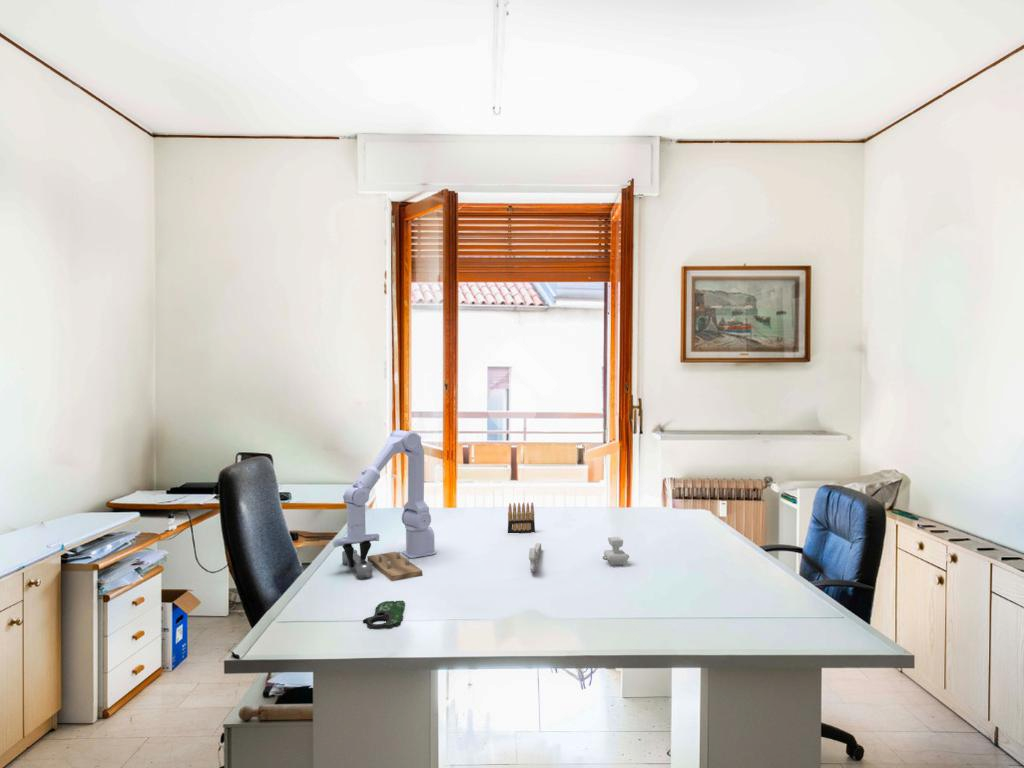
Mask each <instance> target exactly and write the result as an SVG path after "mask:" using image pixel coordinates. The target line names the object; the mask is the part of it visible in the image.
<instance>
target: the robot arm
mask: <svg viewBox="0 0 1024 768" xmlns="http://www.w3.org/2000/svg"><path fill="white" fill-rule="evenodd" d="M401 453H403V454H404V455H406V456H407V459H408V460H407V462H408V463H407V464H408V465H407V476H408V477H407V502H406V503H405V504H404V505H403V511H402V514H401V522H402V524H403V525H404V527H405V546H406V548H405V550H402V551H401V553H402V554H403V555H404V556H406V557H407V558H409V559H414V558H415V559H416V558H419V557H425V556H432V555H436V552H435V531H434V529H433V527H431V526H430V525H431V523H432V517H431V514H430V507H429V506H428V505H427V503H426V502H425V449H424V446H423V445H422V436H421V435H419V434H418V432H416V431H411V430H409V431H408V430H400V429H394V430H392V432H391V433H390V434H389V436H388V437H387V438H386V441H385V444H384V446H383V447H382V449H381V450H380V452H379V453H378V455H377V457H376V458H375V460H374V461H373V462H372V464H371V465H370V466H367V467H365V468H363V469H361V471H360V472H361V473H360V475H359V476H358V477H357V478H356V480H355V481H353V483H352V485H351V486H349V487H347V489H345V492H344V495H342V499H343V500H344V502H345V503H346V524H347V525H346V529H347V530H346V533H347V534H346V535H347V536H346V537H341V538H337V539H332V540H333V541H332V546H333V547H334V548H338V547H342V548H343V551H345V553H346V555H347V558H348V561H349V566H350V567H351V568H352V567H353V551H354V550H355V547H353V545H354V544H356V545H357V544H359V551H360V552H359V553H360V554H359V556H361V557H362V558H363V559H364V560H365V561H366V559H367V556H368V553H369V551H370V549H371V548H372V543H371V542H379V541H380V534H379V533H371V534H370V533H369V534H368V533H367V532H366V503H367V502H368V501H369V498H370V493H371V491H372V490H373V488H374V487H375V485H376V484H377V483H378V482H379V480H380V478H381V471H382V470H383V469H384V468H385V467H386V465H387V464H388V463H389V462H390V460H392V458H393V457H394V456H395V455H397V454H401Z"/></svg>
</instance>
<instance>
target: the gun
mask: <svg viewBox="0 0 1024 768" xmlns="http://www.w3.org/2000/svg"><path fill="white" fill-rule="evenodd" d="M405 607H406V602H405V601H404V600H388V601H387V600H386V601H382V602H380V603H379V604H377V606H375V609H374V610H375V611H374V614H373V616H369V617H365V618H364V619H363V620H362V624H365V623H366V624H365V625H366V627H367V629H369V630H382V629H387V630H390V629H393V628H394V627H397V628H398V627H400V626H401V623H402V621H403V620H404V611H405ZM385 621H386V622H385ZM377 622H382V623H377Z"/></svg>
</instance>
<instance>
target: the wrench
mask: <svg viewBox="0 0 1024 768" xmlns="http://www.w3.org/2000/svg"><path fill="white" fill-rule="evenodd" d="M541 552H542V543H535V546H534V547H530V548H529V551H528V554H529V555H528V560H529V561H530V566H529V569H530V573H537V564H538V560H539V558H540V557H539V556H540V555H541Z"/></svg>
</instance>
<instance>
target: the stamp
mask: <svg viewBox="0 0 1024 768" xmlns="http://www.w3.org/2000/svg"><path fill="white" fill-rule="evenodd" d="M607 540H608V543H609V545H610V546H611V547H612V549H605V550H604V551H603V555H602V559H603V560H604V561H607V562H608V563H609V565H610V566H622V565H623V566H624V565H626V563H627V562H628V560H629V558H630V555H629V554H626V553H625V551H624V550H623V549H620V548H622V547H623V546H624V540H623V539H622V538H621V537H620V536H610V537H609V536H608V537H607Z"/></svg>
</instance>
